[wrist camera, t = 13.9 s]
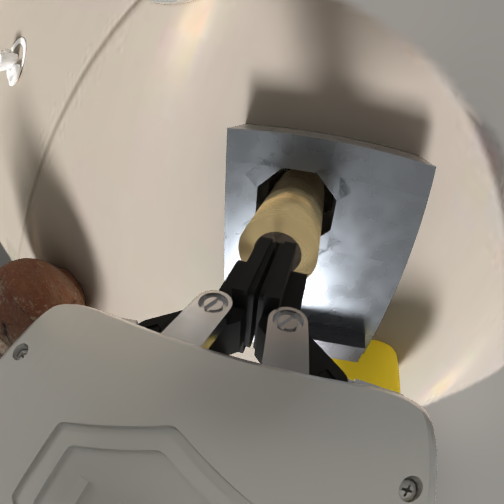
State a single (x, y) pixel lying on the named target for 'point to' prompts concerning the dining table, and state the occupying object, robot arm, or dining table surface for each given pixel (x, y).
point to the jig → (335, 222)
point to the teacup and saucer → (12, 62)
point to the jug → (32, 295)
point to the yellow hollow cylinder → (374, 366)
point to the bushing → (290, 219)
